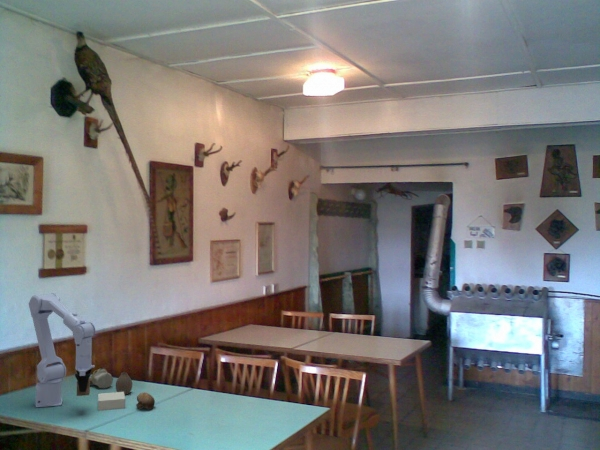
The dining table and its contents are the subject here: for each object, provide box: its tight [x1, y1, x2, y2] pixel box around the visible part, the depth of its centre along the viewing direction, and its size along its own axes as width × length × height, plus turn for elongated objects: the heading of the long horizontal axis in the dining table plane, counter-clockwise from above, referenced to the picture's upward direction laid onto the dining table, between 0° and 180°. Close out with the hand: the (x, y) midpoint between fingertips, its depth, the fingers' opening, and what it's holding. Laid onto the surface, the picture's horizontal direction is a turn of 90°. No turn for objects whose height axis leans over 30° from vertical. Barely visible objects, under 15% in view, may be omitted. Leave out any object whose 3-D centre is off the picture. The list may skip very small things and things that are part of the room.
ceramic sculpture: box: [89, 366, 114, 389], centre depth 260 cm, size 11×9×15 cm
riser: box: [97, 391, 126, 411], centre depth 233 cm, size 10×10×4 cm
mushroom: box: [135, 392, 155, 410], centre depth 230 cm, size 8×8×6 cm
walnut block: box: [76, 379, 91, 397], centre depth 225 cm, size 4×4×5 cm
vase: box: [115, 372, 133, 396], centre depth 249 cm, size 7×7×9 cm
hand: (83, 389), depth 225 cm, fingers closed on walnut block, 4 cm apart
